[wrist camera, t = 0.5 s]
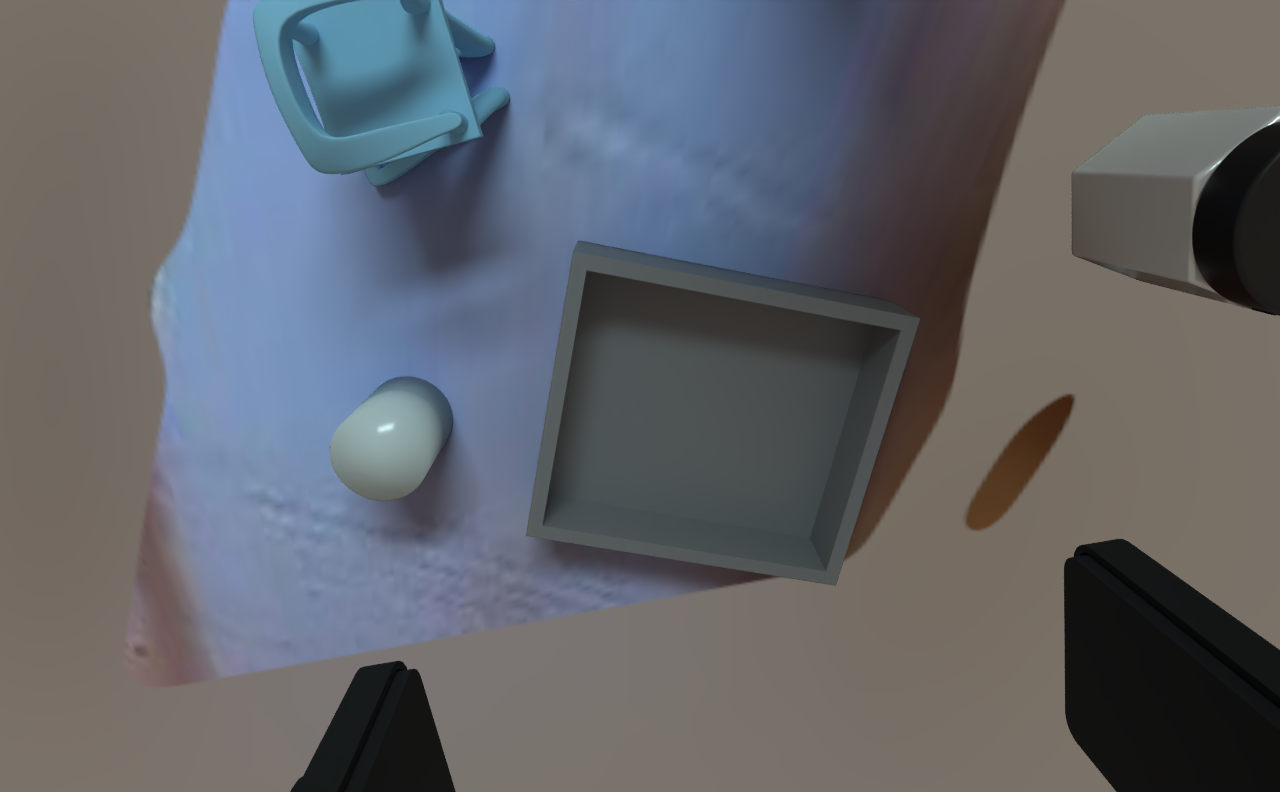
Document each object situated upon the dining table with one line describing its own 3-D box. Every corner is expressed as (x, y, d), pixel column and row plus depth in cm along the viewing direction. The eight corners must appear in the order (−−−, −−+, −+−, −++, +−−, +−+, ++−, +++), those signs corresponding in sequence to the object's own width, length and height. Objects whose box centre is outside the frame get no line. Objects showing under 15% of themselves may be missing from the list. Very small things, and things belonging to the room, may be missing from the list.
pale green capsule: (371, 369, 43) (333, 403, 38) (457, 384, 44) (433, 420, 38) (364, 448, 45) (326, 492, 39) (447, 462, 45) (423, 507, 40)
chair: (524, 146, 40) (489, 145, 28) (375, 187, 40) (281, 202, 29) (478, -13, 37) (420, -83, 26) (320, 33, 38) (194, -17, 26)
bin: (578, 240, 41) (573, 251, 37) (890, 301, 43) (920, 318, 38) (534, 500, 46) (525, 535, 42) (816, 546, 48) (835, 585, 43)
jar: (1106, 308, 43) (1280, 366, 32) (1033, 197, 41) (1190, 216, 30) (1248, 204, 42) (1485, 225, 30) (1179, 82, 39) (1405, 56, 28)
